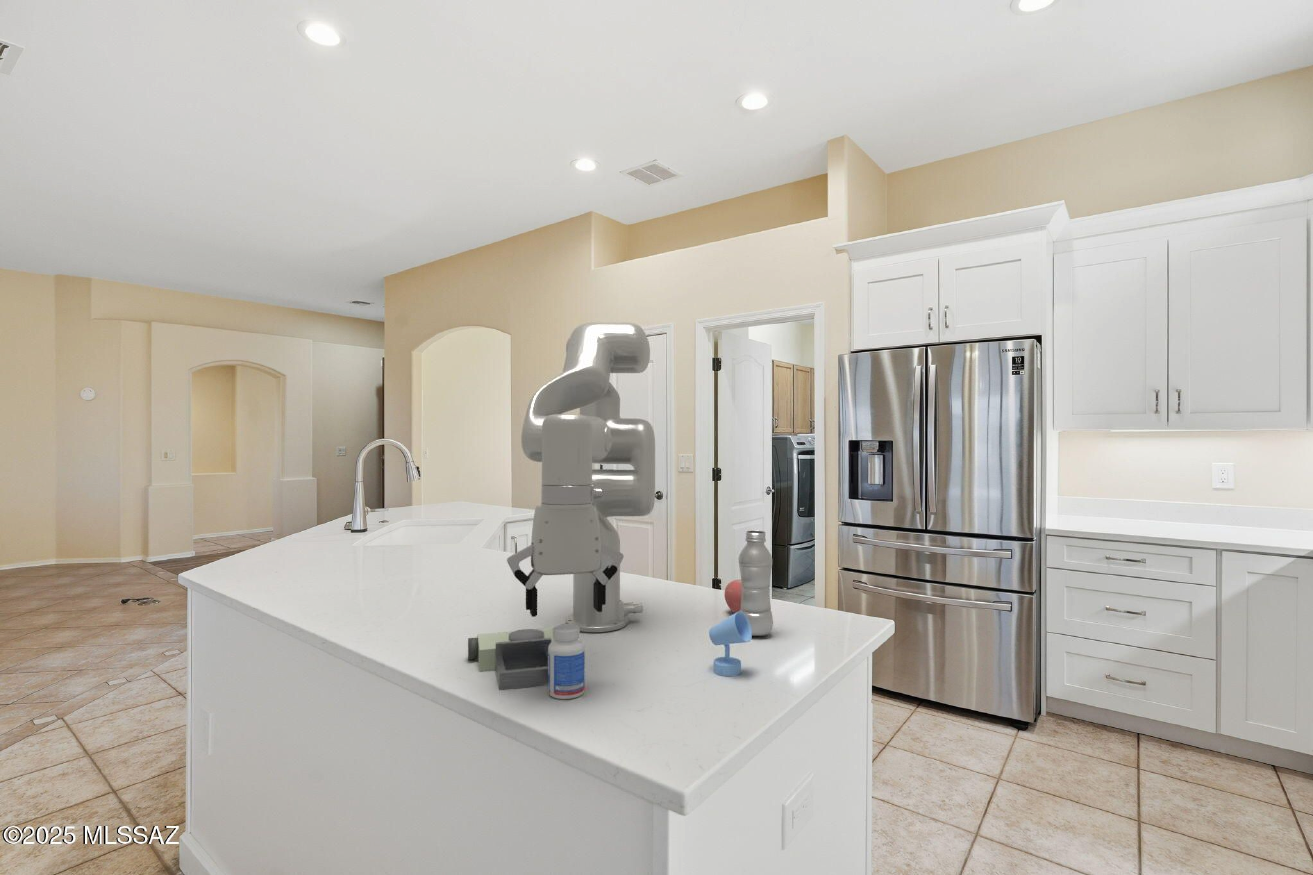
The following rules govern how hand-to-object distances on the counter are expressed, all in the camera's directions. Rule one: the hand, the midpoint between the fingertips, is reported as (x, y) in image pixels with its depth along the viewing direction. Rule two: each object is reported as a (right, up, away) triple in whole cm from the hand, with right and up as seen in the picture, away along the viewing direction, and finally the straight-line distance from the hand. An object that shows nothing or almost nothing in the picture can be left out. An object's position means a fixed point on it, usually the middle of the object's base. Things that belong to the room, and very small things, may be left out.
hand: (566, 612), depth 97 cm
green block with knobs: (-10, -12, +16) cm, 22 cm away
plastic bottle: (+33, -13, +30) cm, 46 cm away
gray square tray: (-7, -12, +7) cm, 16 cm away
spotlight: (+25, -13, +10) cm, 30 cm away
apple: (+32, -13, +45) cm, 57 cm away
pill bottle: (0, -12, +1) cm, 12 cm away
